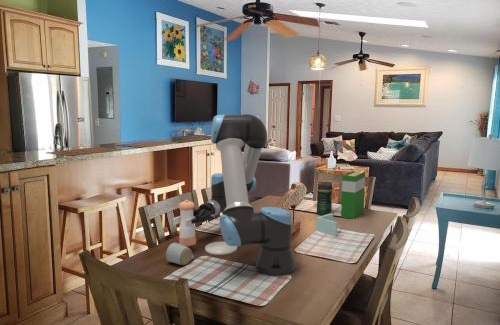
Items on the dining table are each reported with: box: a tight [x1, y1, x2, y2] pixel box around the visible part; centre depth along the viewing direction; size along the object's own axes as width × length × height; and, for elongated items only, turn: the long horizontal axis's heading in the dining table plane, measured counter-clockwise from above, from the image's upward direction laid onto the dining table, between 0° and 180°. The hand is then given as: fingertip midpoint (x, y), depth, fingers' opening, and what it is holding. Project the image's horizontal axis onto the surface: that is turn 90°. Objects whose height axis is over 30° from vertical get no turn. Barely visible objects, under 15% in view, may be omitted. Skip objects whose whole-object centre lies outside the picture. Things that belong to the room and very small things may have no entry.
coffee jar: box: [316, 181, 333, 216], centre depth 225 cm, size 10×8×19 cm
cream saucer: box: [204, 241, 238, 256], centre depth 170 cm, size 14×14×1 cm
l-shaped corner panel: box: [315, 212, 341, 238], centre depth 194 cm, size 12×12×8 cm
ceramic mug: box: [165, 242, 195, 266], centre depth 156 cm, size 11×8×8 cm
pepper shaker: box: [177, 199, 197, 247], centre depth 167 cm, size 7×7×19 cm
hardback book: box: [340, 170, 366, 220], centre depth 223 cm, size 18×7×24 cm, turn 147°
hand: (179, 222), depth 162 cm, fingers closed on pepper shaker, 5 cm apart
